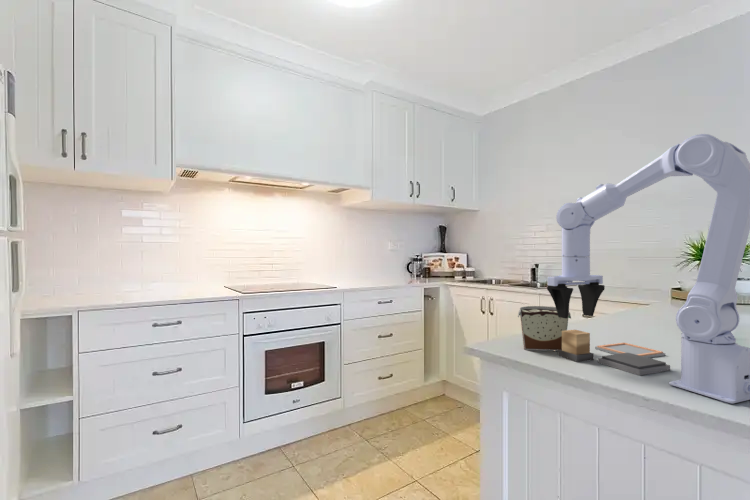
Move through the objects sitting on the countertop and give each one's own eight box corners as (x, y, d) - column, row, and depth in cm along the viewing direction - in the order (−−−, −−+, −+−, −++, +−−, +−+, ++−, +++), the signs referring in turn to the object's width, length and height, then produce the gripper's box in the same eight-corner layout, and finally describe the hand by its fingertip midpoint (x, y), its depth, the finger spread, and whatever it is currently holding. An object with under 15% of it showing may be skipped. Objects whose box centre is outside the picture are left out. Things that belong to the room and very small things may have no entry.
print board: (665, 355, 89) (665, 351, 89) (635, 359, 85) (635, 356, 85) (623, 345, 98) (623, 342, 98) (595, 348, 94) (595, 345, 94)
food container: (562, 344, 98) (562, 306, 98) (571, 351, 92) (571, 310, 92) (512, 343, 100) (512, 305, 100) (518, 349, 94) (518, 309, 94)
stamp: (593, 360, 85) (593, 333, 85) (576, 362, 84) (576, 335, 84) (574, 354, 90) (574, 328, 90) (558, 356, 88) (558, 330, 88)
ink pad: (670, 370, 78) (670, 362, 78) (639, 375, 75) (639, 367, 75) (627, 358, 86) (627, 351, 86) (598, 362, 83) (598, 355, 83)
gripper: (584, 256, 93) (584, 311, 93) (537, 256, 88) (537, 315, 88) (611, 256, 86) (611, 316, 86) (562, 257, 81) (562, 321, 81)
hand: (575, 316), depth 87 cm, fingers open, 7 cm apart
